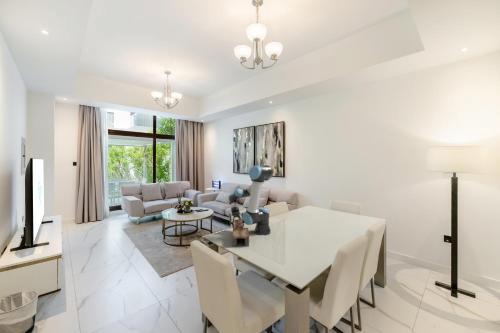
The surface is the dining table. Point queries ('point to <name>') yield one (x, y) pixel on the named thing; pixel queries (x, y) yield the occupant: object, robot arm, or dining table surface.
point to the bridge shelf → (241, 235)
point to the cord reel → (238, 223)
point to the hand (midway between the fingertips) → (239, 230)
